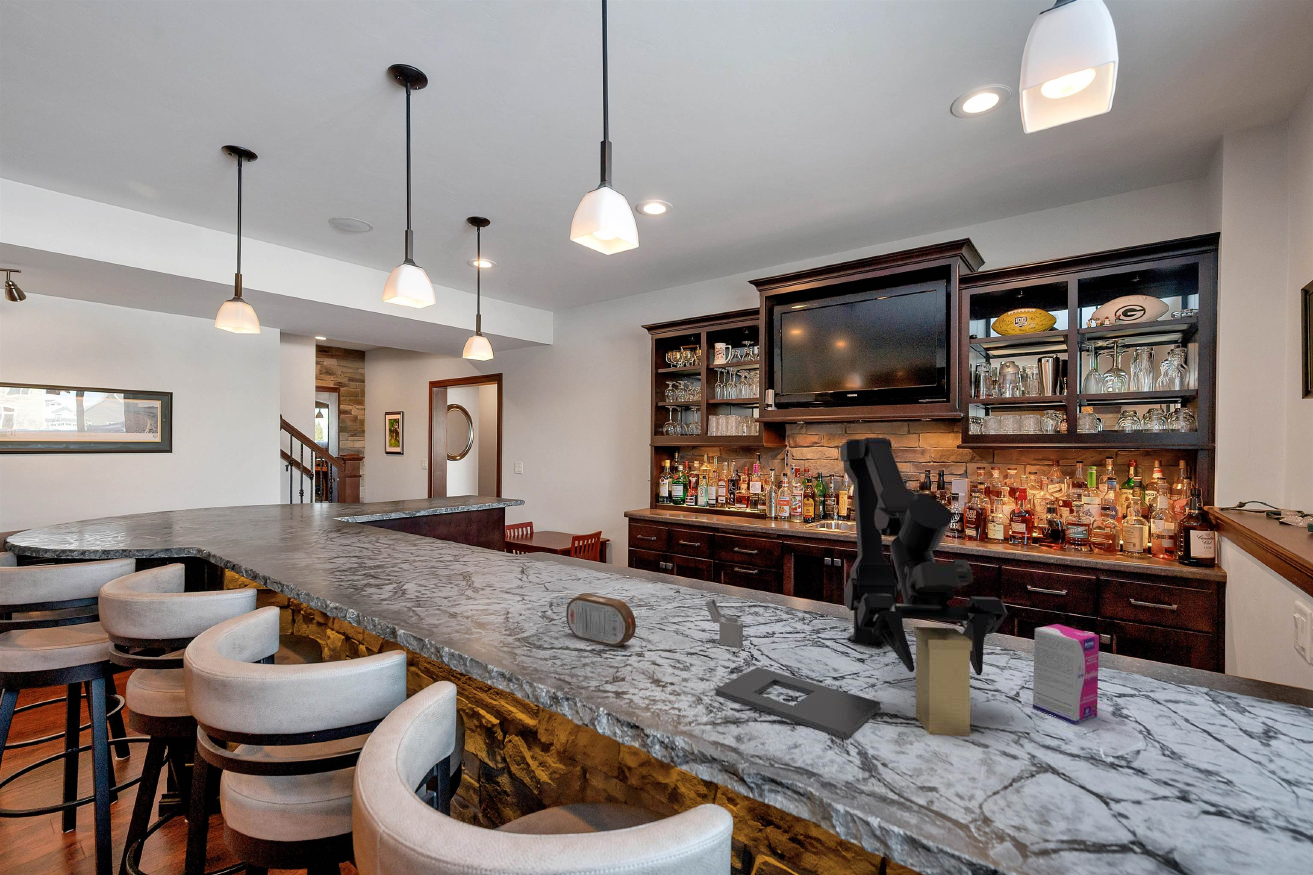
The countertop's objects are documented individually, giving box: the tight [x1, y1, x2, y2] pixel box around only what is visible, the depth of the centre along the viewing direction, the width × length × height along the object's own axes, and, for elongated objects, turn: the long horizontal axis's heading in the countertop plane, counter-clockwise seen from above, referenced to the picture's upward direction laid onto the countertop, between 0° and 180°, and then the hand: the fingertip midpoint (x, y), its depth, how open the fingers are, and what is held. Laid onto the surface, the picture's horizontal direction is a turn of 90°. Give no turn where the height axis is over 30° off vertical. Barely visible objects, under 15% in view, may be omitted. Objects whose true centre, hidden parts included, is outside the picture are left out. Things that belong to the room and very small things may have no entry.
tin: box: [565, 592, 637, 648], centre depth 110 cm, size 15×3×8 cm, turn 58°
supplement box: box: [1031, 623, 1100, 725], centre depth 82 cm, size 6×6×12 cm
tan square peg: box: [913, 626, 972, 737], centre depth 77 cm, size 5×5×12 cm
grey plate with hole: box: [715, 666, 882, 740], centre depth 84 cm, size 12×20×1 cm, turn 50°
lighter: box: [704, 598, 744, 649], centre depth 109 cm, size 7×2×8 cm, turn 61°
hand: (945, 672), depth 76 cm, fingers open, 8 cm apart
